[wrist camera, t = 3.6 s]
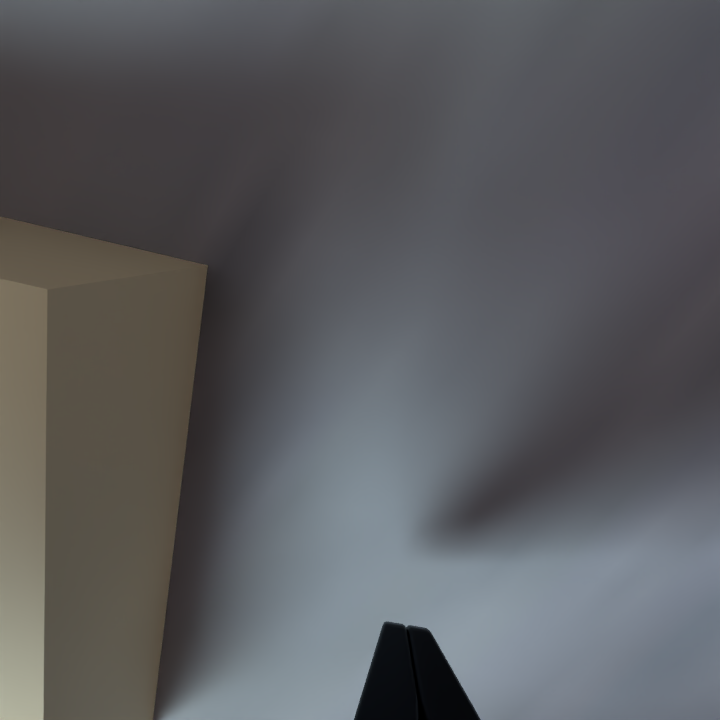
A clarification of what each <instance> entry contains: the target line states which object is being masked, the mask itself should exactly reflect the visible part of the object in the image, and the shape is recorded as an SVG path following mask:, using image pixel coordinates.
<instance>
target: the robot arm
mask: <svg viewBox="0 0 720 720" xmlns="http://www.w3.org/2000/svg"><path fill="white" fill-rule="evenodd" d="M354 720H481V719H480V718H479V716H478V714H477V712H476V711H475V709H474V707H473V705H472V704H471V702H470V700H469V698H468V697H467V695H466V693H465V691H464V690H463V688H462V686H461V684H460V683H459V681H458V679H457V677H456V675H455V674H454V672H453V670H452V668H451V667H450V665H449V663H448V661H447V660H446V658H445V656H444V654H443V653H442V651H441V649H440V647H439V646H438V644H437V642H436V640H435V639H434V637H433V635H432V633H431V632H430V631H429V630H428V629H427V628H423V627H417V626H411V625H409V626H407V627H405V626H404V625H403V624H399V623H393V622H384V624H383V626H382V629H381V633H380V636H379V639H378V643H377V646H376V649H375V652H374V656H373V659H372V662H371V666H370V669H369V672H368V675H367V679H366V682H365V685H364V688H363V692H362V695H361V698H360V702H359V705H358V708H357V711H356V715H355V718H354Z"/></svg>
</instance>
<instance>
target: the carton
mask: <svg viewBox="0 0 720 720" xmlns="http://www.w3.org/2000/svg"><path fill="white" fill-rule="evenodd" d="M207 269H208V265H204V264H200V263H196V262H191V261H187V260H183V259H179V258H174V257H170V256H166V255H162V254H157V253H153V252H149V251H145V250H141V249H136V248H132V247H128V246H124V245H119V244H115V243H111V242H107V241H103V240H98V239H94V238H90V237H86V236H81V235H77V234H73V233H69V232H65V231H60V230H56V229H52V228H48V227H43V226H39V225H35V224H31V223H27V222H22V221H18V220H14V219H10V218H5V217H1V216H0V720H153V715H154V707H155V699H156V690H157V682H158V674H159V665H160V657H161V649H162V641H163V632H164V624H165V616H166V608H167V599H168V591H169V583H170V575H171V566H172V558H173V550H174V542H175V533H176V525H177V517H178V508H179V500H180V492H181V484H182V475H183V467H184V459H185V451H186V442H187V434H188V426H189V418H190V409H191V401H192V393H193V384H194V376H195V368H196V360H197V351H198V343H199V335H200V327H201V318H202V310H203V302H204V294H205V285H206V277H207Z"/></svg>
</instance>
